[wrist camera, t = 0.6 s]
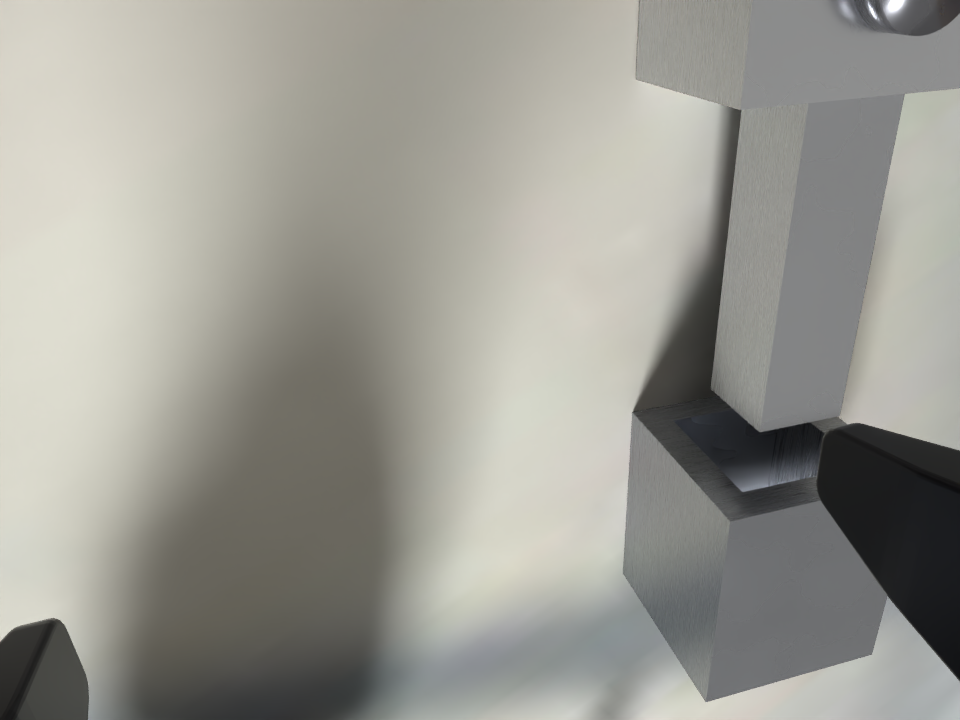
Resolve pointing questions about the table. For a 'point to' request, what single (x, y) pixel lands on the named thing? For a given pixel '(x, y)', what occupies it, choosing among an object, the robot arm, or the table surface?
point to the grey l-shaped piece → (799, 171)
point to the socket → (742, 549)
